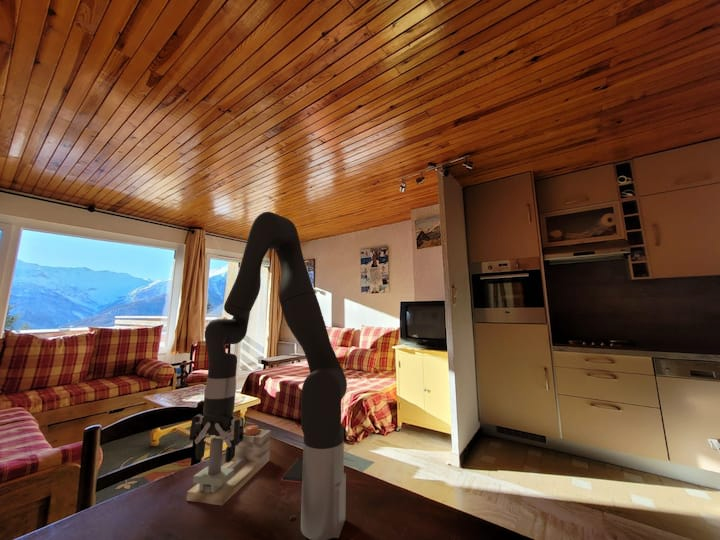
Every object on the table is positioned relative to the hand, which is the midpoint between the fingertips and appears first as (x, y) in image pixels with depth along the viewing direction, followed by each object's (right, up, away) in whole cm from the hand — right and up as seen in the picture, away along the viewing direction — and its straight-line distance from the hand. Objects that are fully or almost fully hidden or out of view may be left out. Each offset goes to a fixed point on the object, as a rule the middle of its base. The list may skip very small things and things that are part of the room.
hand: (214, 459), depth 75 cm
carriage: (0, -6, -1) cm, 6 cm away
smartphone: (+20, -11, +12) cm, 26 cm away
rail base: (+2, -10, +6) cm, 12 cm away
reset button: (+3, -4, +16) cm, 17 cm away
